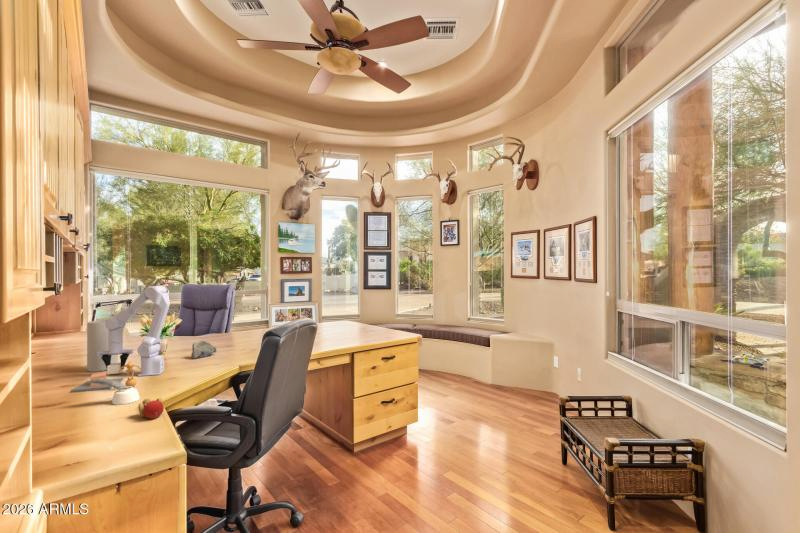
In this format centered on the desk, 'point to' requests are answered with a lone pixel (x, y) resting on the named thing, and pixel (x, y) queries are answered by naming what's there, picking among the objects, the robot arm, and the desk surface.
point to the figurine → (130, 381)
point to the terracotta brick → (96, 376)
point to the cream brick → (114, 368)
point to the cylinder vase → (97, 345)
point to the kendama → (151, 408)
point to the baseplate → (93, 387)
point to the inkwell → (119, 391)
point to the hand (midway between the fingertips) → (115, 369)
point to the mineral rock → (202, 349)
